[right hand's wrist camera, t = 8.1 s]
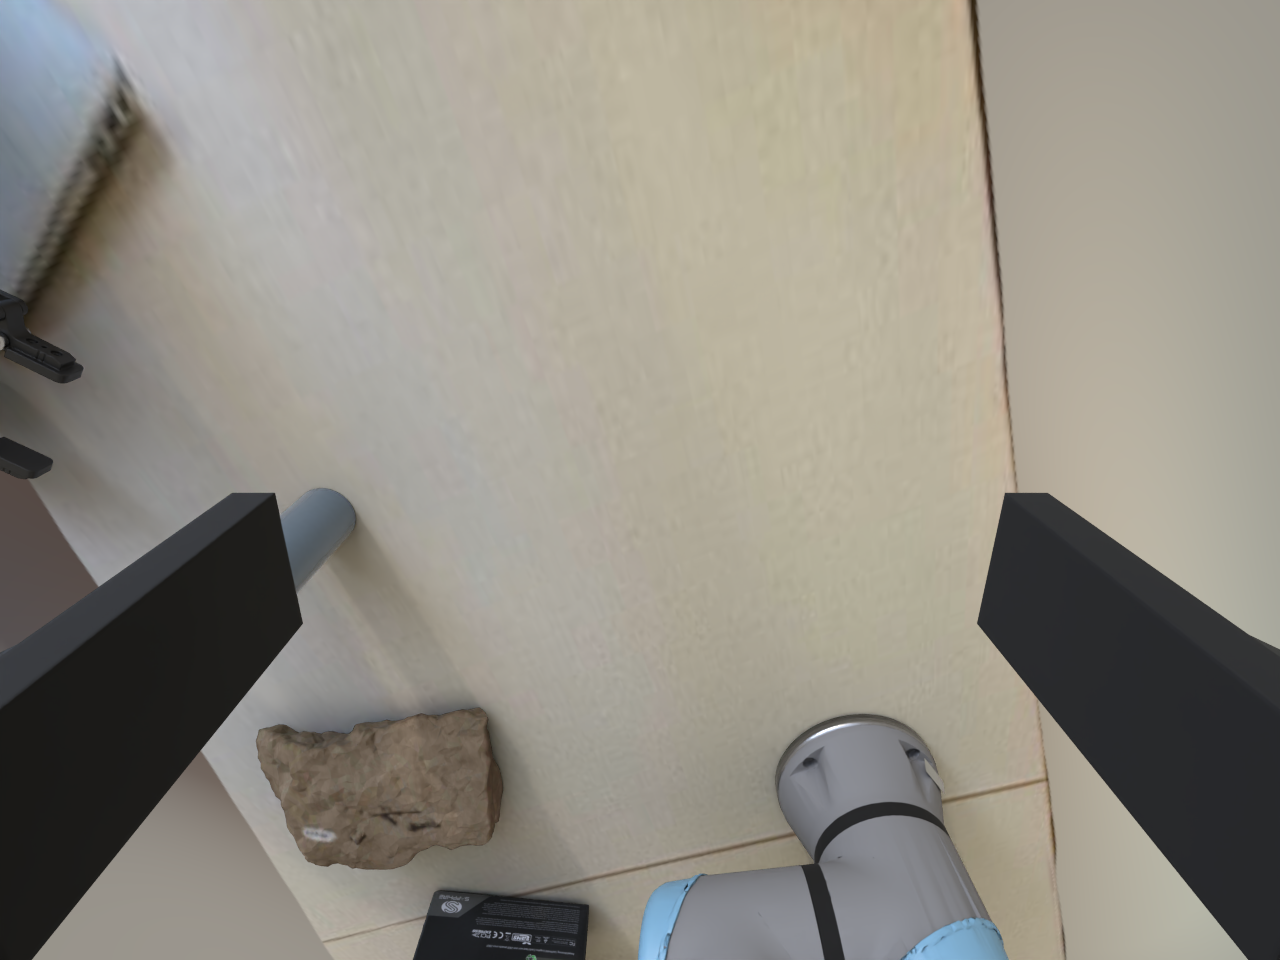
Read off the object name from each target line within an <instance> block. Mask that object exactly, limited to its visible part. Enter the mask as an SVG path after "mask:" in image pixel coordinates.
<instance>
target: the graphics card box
mask: <svg viewBox="0 0 1280 960" xmlns="http://www.w3.org/2000/svg"><path fill="white" fill-rule="evenodd" d="M588 916H589V905H585V904H584V905H583V904H573V903H563V902H553V901H542V900H532V899H523V898H512V897H502V896H490V895H482V894H480V895H479V894H470V893H458V892H448V891H436V892H435V893H434V895H433V898H432V902H431V904H430V907H429V910H428V913H427V917H426V920H425V923H424V925H423V930H422V933H421V936H420V939H419V942H418V945H417V948H416V951H415V955H414V958H413V960H585V955H586V942H587V931H588Z"/></svg>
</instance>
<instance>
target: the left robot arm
mask: <svg viewBox="0 0 1280 960" xmlns="http://www.w3.org/2000/svg"><path fill="white" fill-rule="evenodd" d="M27 312H28V307H27V305H26V303H25V302H24V301H23V300H21V299H19V298H17V297H15V296H13V295H11V294H8V293H6V292H4V291H2V290H0V350H5V351H6V352H5V355H4V357H6V358H8V359H10V360H12V361H14V362H16V363H18V364H20V365H22V366H24V367H26V368H28V369H30V370H32V371H35V372H37V373H39V374H41V375H43V376H45V377H47V378H49V379H51V380H53V381H55V382H58V383H68V382H70V381H73V380H75V379H78V378H80V377H81V374H82V371H83V367H82V366H81V365H80V364H78V363H76V362H75V360H76V359H75V358H74V357H73V356H72V355H71V354H69V353H68V352H66V351H64V350H62V349H60V348H58V347H56V346H53V345H52V344H50V343H48V342H46V341H44V340H42V339H40V338H38V337H36V336H34V335H32V334H31V332H30V331H29V329H28V328H26V327H25V325H24V319H23V315H25V314H26V313H27ZM52 464H53V460H52V459H51V458H49V457H47V456H44V455H42V454H40V453H38V452H36V451H34V450H31V449H29V448H27V447H25V446H23V445H21V444H18V443H16V442H14V441H12V440H10V439H8V438H5V437H2V438H0V470H1V471H4V472H5V473H8V474H10V475H12V476H14V477H17V478H21V479H27V478H37V477H39V476H41V475H42V474H44V473H46V472H48V471H50V470H51V467H52Z"/></svg>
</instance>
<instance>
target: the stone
mask: <svg viewBox="0 0 1280 960" xmlns="http://www.w3.org/2000/svg"><path fill="white" fill-rule="evenodd" d="M487 722H488V718H487V715H486V713H485V712H484V711H483V710H482V709H481V708H474V709H470V710H458V711H454V712H450V713H446V714H443V715H425V714H422V713H421V714H418V715H415V716H412V717H407V718H406V719H404V720H399V721H390V720H385V721H382V722H374V723H371V722H366V723H360V724H356V725H355V726H354V729H353V731H352V732H351V733H349V734H344V733H337V732H331V731H329V732H324V733H322V734H320V733H316V732H306V731H303V732H300V733H298V732H296V731H295V730H293V729H291V728H290V727H288V726H287V725H276V726H273V727H270V728H263V729H260V730H259V732H258V736H257V739H256V744H257V749H258V759H259V761H260V762H261V769H262V771H263V772H264V774H265V776H266V778H267V779H268V780H269V782H270V785H271V788H272V790H273V791H274V793H275V796H276V797H277V798H278V799H280V800H281V806H282V808H283V810H284V812H285V817H286V823H287V828H288V829H289V831H290V833H291V834H292V835H293V836H294V838H295V841H296V843H297V846H298V848H299V849H300V851H301V852H302V853H303V855H304V856H305V859H306V860H307V861H308V862H311V863H314V864H315V865H319V866H327V867H328V866H330V865H332V864H336V863H339V864H342V865H348V866H349V867H351V868H360V869H378V870H385V869H394V868H397V867H400V866H404V865H406V864H407V863H409V862H410V861H411V860H412V859H413V858H414V856H415V855H416V854H417V853H418V852H420V851H422V850H425V849H428V848H429V847H431V846H434V845H439V846H443V847H447V848H448V849H451V850H453V849H455V848H457V847H459V846H463V845H484V844H486V843H487V842H488V841H489V840H490V839H491V837H492V833H493V832H494V827H495V823H496V822H498V821H499V816H500V805H501V797H502V792H503V785H502V779H501V773H500V771H499V767H498V765H497V764H496V762H495V760H494V759H493V755H492V747H491V743H490V738H489V732H488V730H487Z"/></svg>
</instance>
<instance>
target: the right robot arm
mask: <svg viewBox="0 0 1280 960" xmlns="http://www.w3.org/2000/svg"><path fill="white" fill-rule="evenodd" d="M302 624H303V622H302V617H301V613H300V608H299V603H298V598H297V594H296V589H295V584H294V580H293V575H292V570H291V566H290V561H289V556H288V552H287V547H286V542H285V538H284V533H283V528H282V524H281V519H280V514H279V510H278V505H277V500H276V496H275V493H232V494H230V495H229V496H227V497H226V498H224V499H223V500H222V501H220V502H219V503H217V504H216V505H215V506H213V507H212V508H210V509H209V510H207V511H206V512H205V513H203V514H202V515H200V516H199V517H198V518H196V519H195V520H193V521H192V522H190V523H189V524H188V525H186V526H185V527H183V528H182V529H181V530H179V531H178V532H176V533H175V534H173V535H172V536H171V537H169V538H168V539H166V540H165V541H164V542H162V543H161V544H159V545H158V546H156V547H155V548H154V549H152V550H151V551H149V552H148V553H146V554H145V555H144V556H142V557H141V558H139V559H138V560H137V561H135V562H134V563H132V564H131V565H129V566H128V567H127V568H125V569H124V570H122V571H121V572H120V573H118V574H117V575H115V576H114V577H112V578H111V579H110V580H108V581H107V582H105V583H104V584H103V585H101V586H100V587H98V588H97V589H95V590H94V591H93V592H91V593H90V594H88V595H87V596H86V597H84V598H83V599H81V600H80V601H78V602H77V603H76V604H74V605H73V606H71V607H70V608H69V609H67V610H66V611H64V612H63V613H61V614H60V615H59V616H57V617H56V618H54V619H53V620H52V621H50V622H49V623H47V624H46V625H44V626H43V627H42V628H40V629H39V630H37V631H36V632H35V633H33V634H32V635H30V636H29V637H27V638H26V639H25V640H23V641H22V642H20V643H19V644H17V645H15V646H13V647H11V648H9V649H7V650H5V651H3V652H0V960H32V959H33V957H34V956H35V955H36V954H37V953H38V951H39V950H40V949H41V948H42V946H43V945H44V944H45V943H46V941H47V940H48V939H49V938H50V936H51V935H52V934H53V933H54V931H55V930H56V929H57V928H58V927H59V925H60V924H61V923H62V922H63V920H64V919H65V918H66V917H67V915H68V914H69V913H70V912H71V910H72V909H73V908H74V907H75V905H76V904H77V903H78V902H79V900H80V899H81V898H82V897H83V895H84V894H85V893H86V892H87V890H88V889H89V888H90V887H91V886H92V884H93V883H94V882H95V881H96V879H97V878H98V877H99V876H100V874H101V873H102V872H103V871H104V869H105V868H106V867H107V866H108V864H109V863H110V862H111V861H112V860H113V858H114V857H115V856H116V855H117V853H118V852H119V851H120V850H121V848H122V847H123V846H124V845H125V843H126V842H127V841H128V840H129V838H130V837H131V836H132V835H133V833H134V832H135V831H136V830H137V829H138V827H139V826H140V825H141V824H142V822H143V821H144V820H145V819H146V817H147V816H148V815H149V814H150V812H151V811H152V810H153V809H154V807H155V806H156V805H157V804H158V803H159V801H160V800H161V799H162V798H163V796H164V795H165V794H166V793H167V791H168V790H169V789H170V788H171V786H172V785H173V784H174V783H175V781H176V780H177V779H178V778H179V776H180V775H181V774H182V773H183V771H184V770H185V769H186V768H187V767H188V765H189V764H190V763H191V762H192V760H193V759H194V758H195V757H196V755H197V754H198V753H199V752H200V750H201V749H202V748H203V747H204V745H205V744H206V743H207V742H208V741H209V739H210V738H211V737H212V736H213V734H214V733H215V732H216V731H217V729H218V728H219V727H220V726H221V724H222V723H223V722H224V721H225V719H226V718H227V717H228V716H229V714H230V713H231V712H232V711H233V710H234V708H235V707H236V706H237V705H238V703H239V702H240V701H241V700H242V698H243V697H244V696H245V695H246V693H247V692H248V691H249V690H250V688H251V687H252V686H253V685H254V683H255V682H256V681H257V680H258V679H259V677H260V676H261V675H262V674H263V672H264V671H265V670H266V669H267V667H268V666H269V665H270V664H271V662H272V661H273V660H274V659H275V657H276V656H277V655H278V654H279V652H280V651H281V650H282V649H283V648H284V646H285V645H286V644H287V643H288V641H289V640H290V639H291V638H292V636H293V635H294V634H295V633H296V631H297V630H298V629H299V628H300V626H301V625H302ZM977 624H978V625H979V626H980V628H981V629H982V630H983V631H984V633H985V634H986V635H987V636H988V638H989V639H990V640H991V641H992V643H993V644H994V645H995V646H996V648H997V649H998V650H999V651H1000V652H1001V654H1002V655H1003V656H1004V657H1005V659H1006V660H1007V661H1008V662H1009V664H1010V665H1011V666H1012V667H1013V669H1014V670H1015V671H1016V672H1017V674H1018V675H1019V676H1020V677H1021V679H1022V680H1023V681H1024V682H1025V683H1026V685H1027V686H1028V687H1029V688H1030V690H1031V691H1032V692H1033V693H1034V695H1035V696H1036V697H1037V698H1038V700H1039V701H1040V702H1041V703H1042V705H1043V706H1044V707H1045V708H1046V709H1047V711H1048V712H1049V713H1050V714H1051V716H1052V717H1053V718H1054V719H1055V721H1056V722H1057V723H1058V724H1059V726H1060V727H1061V728H1062V729H1063V731H1064V732H1065V733H1066V734H1067V736H1068V737H1069V738H1070V739H1071V740H1072V742H1073V743H1074V744H1075V745H1076V747H1077V748H1078V749H1079V750H1080V752H1081V753H1082V754H1083V755H1084V757H1085V758H1086V759H1087V760H1088V762H1089V763H1090V764H1091V765H1092V767H1093V768H1094V769H1095V770H1096V772H1097V773H1098V774H1099V775H1100V776H1101V778H1102V779H1103V780H1104V781H1105V783H1106V784H1107V785H1108V786H1109V788H1110V789H1111V790H1112V791H1113V793H1114V794H1115V795H1116V796H1117V798H1118V799H1119V800H1120V801H1121V803H1122V804H1123V805H1124V806H1125V807H1126V809H1127V810H1128V811H1129V812H1130V814H1131V815H1132V816H1133V817H1134V819H1135V820H1136V821H1137V822H1138V824H1139V825H1140V826H1141V827H1142V829H1143V830H1144V831H1145V832H1146V834H1147V835H1148V836H1149V837H1150V838H1151V840H1152V841H1153V842H1154V843H1155V845H1156V846H1157V847H1158V848H1159V850H1160V851H1161V852H1162V853H1163V855H1164V856H1165V857H1166V858H1167V859H1168V861H1169V862H1170V863H1171V864H1172V866H1173V867H1174V868H1175V869H1176V871H1177V872H1178V873H1179V874H1180V876H1181V877H1182V878H1183V879H1184V881H1185V882H1186V883H1187V884H1188V886H1189V887H1190V888H1191V889H1192V891H1193V892H1194V893H1195V894H1196V896H1197V897H1198V898H1199V899H1200V900H1201V902H1202V903H1203V904H1204V905H1205V907H1206V908H1207V909H1208V910H1209V912H1210V913H1211V914H1212V915H1213V917H1214V918H1215V919H1216V920H1217V922H1218V923H1219V924H1220V925H1221V927H1222V928H1223V929H1224V930H1225V931H1226V933H1227V934H1228V935H1229V936H1230V938H1231V939H1232V940H1233V941H1234V943H1235V944H1236V945H1237V946H1238V947H1239V949H1240V950H1241V951H1242V953H1243V954H1244V955H1245V956H1246V958H1247V959H1248V960H1280V649H1278V648H1275V647H1273V646H1271V645H1269V644H1267V643H1265V642H1263V641H1261V640H1259V639H1257V638H1254V637H1252V636H1250V635H1248V634H1247V633H1245V632H1244V631H1243V630H1241V629H1240V628H1238V627H1237V626H1236V625H1234V624H1233V623H1231V622H1230V621H1228V620H1227V619H1226V618H1224V617H1223V616H1221V615H1220V614H1219V613H1217V612H1216V611H1214V610H1213V609H1211V608H1210V607H1209V606H1207V605H1206V604H1204V603H1203V602H1202V601H1200V600H1199V599H1197V598H1196V597H1194V596H1193V595H1192V594H1190V593H1189V592H1187V591H1186V590H1185V589H1183V588H1182V587H1180V586H1179V585H1177V584H1176V583H1175V582H1173V581H1172V580H1170V579H1169V578H1168V577H1166V576H1165V575H1163V574H1162V573H1160V572H1159V571H1158V570H1156V569H1155V568H1153V567H1152V566H1151V565H1149V564H1148V563H1146V562H1145V561H1143V560H1142V559H1141V558H1139V557H1138V556H1136V555H1135V554H1134V553H1132V552H1131V551H1129V550H1128V549H1126V548H1125V547H1124V546H1122V545H1121V544H1119V543H1118V542H1116V541H1115V540H1114V539H1112V538H1111V537H1109V536H1108V535H1107V534H1105V533H1104V532H1102V531H1101V530H1099V529H1098V528H1097V527H1095V526H1094V525H1092V524H1091V523H1089V522H1088V521H1087V520H1085V519H1084V518H1082V517H1081V516H1080V515H1078V514H1077V513H1075V512H1074V511H1072V510H1071V509H1070V508H1068V507H1067V506H1065V505H1064V504H1063V503H1061V502H1060V501H1058V500H1057V499H1056V498H1054V497H1053V496H1051V495H1050V494H1048V493H1005V496H1004V500H1003V505H1002V510H1001V514H1000V519H999V524H998V528H997V533H996V538H995V542H994V547H993V552H992V556H991V561H990V566H989V570H988V575H987V580H986V584H985V589H984V594H983V598H982V603H981V608H980V612H979V617H978V622H977ZM775 785H776V791H777V796H778V800H779V804H780V807H781V810H782V812H783V814H784V816H785V818H786V820H787V822H788V823H789V825H790V826H791V828H792V829H793V831H794V832H795V834H796V835H797V837H798V838H799V840H800V841H801V843H802V844H803V846H804V847H805V849H806V850H807V851H808V853H809V854H810V856H811V857H812V859H813V860H814V863H815V864H809V865H801V866H800V865H798V866H789V867H780V868H770V869H761V870H752V871H742V872H733V873H724V874H715V875H707V874H699V875H695V876H694V877H692V878H689V879H683V880H678V881H672V882H667V883H664V884H663V885H661V886H659V887H658V888H657V889H656V890H655V891H654V892H653V893H652V895H651V896H650V898H649V900H648V902H647V905H646V908H645V912H644V916H643V921H642V926H641V933H640V942H639V953H638V960H1009V959H1008V957H1007V954H1006V952H1005V950H1004V946H1003V940H1002V937H1001V935H1000V932H999V930H998V929H997V927H996V926H995V924H994V923H992V921H991V919H990V917H989V915H988V913H987V911H986V909H985V907H984V905H983V903H982V901H981V899H980V897H979V895H978V893H977V891H976V889H975V886H974V884H973V882H972V880H971V878H970V876H969V874H968V872H967V870H966V868H965V866H964V864H963V862H962V860H961V858H960V856H959V854H958V852H957V850H956V848H955V846H954V844H953V842H952V841H951V839H950V837H949V834H948V832H947V830H946V828H945V826H944V820H943V810H942V800H941V791H940V789H941V790H942V791H943V792H944V794H945V790H944V783H943V780H942V779H941V778H940V776H939V774H938V771H937V768H936V764H935V761H934V759H933V757H932V755H931V753H930V751H929V749H928V747H927V746H926V744H925V742H924V741H923V740H922V738H921V737H920V736H919V735H918V734H917V733H916V732H915V731H913V730H912V729H911V728H909V727H908V726H906V725H905V724H903V723H901V722H899V721H896V720H893V719H891V718H887V717H883V716H878V715H867V714H859V715H848V716H842V717H837V718H834V719H830V720H828V721H825V722H822V723H820V724H818V725H816V726H814V727H812V728H810V729H809V730H807V731H806V732H804V733H803V734H801V735H800V736H799V737H798V738H797V739H796V740H794V741H793V742H792V743H791V745H790V746H789V747H788V748H787V749H786V751H785V752H784V754H783V756H782V757H781V759H780V762H779V764H778V767H777V771H776V777H775Z"/></svg>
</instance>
